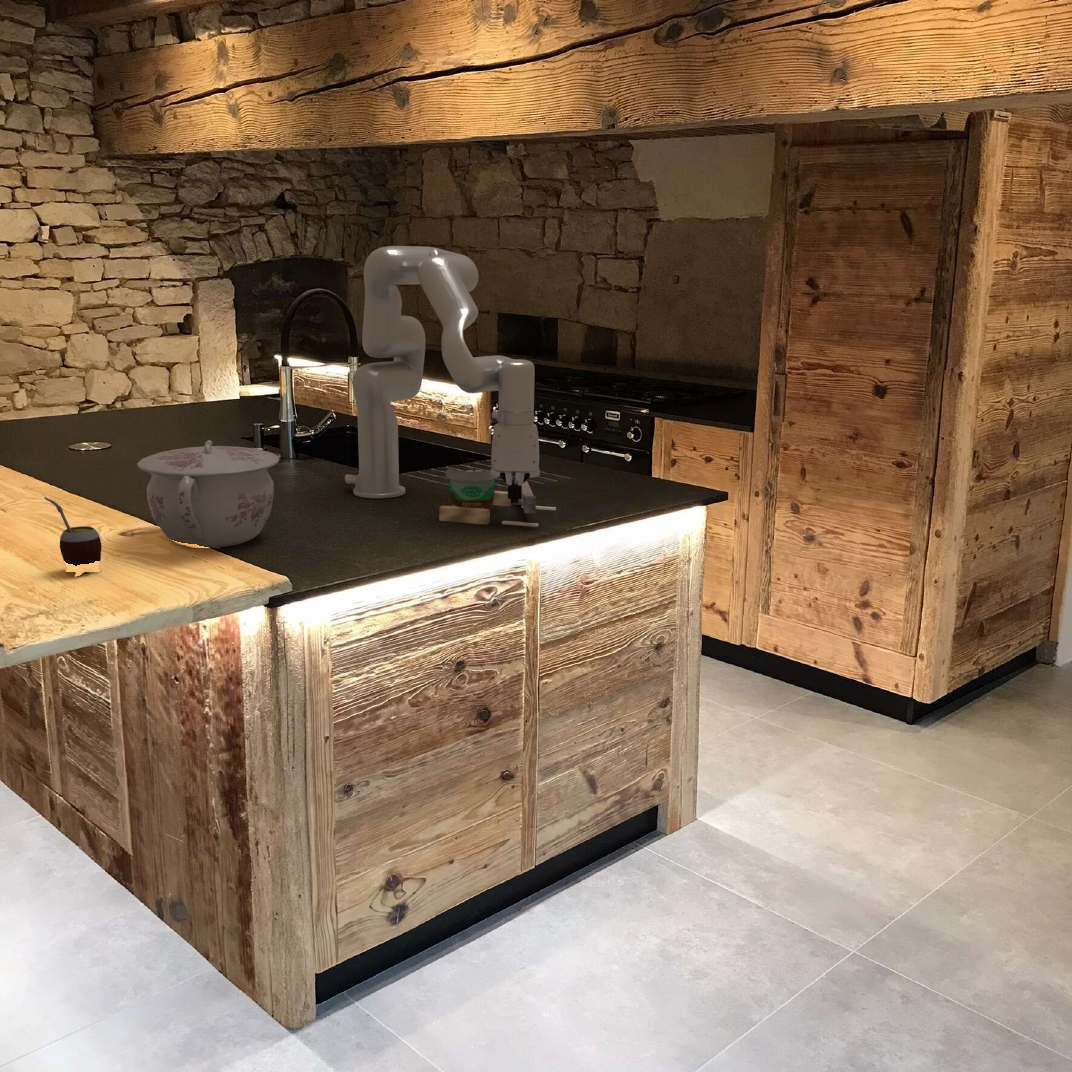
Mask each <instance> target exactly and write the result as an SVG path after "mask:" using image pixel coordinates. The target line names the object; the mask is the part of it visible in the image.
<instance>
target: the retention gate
mask: <svg viewBox="0 0 1072 1072" xmlns="http://www.w3.org/2000/svg"><path fill="white" fill-rule="evenodd" d="M518 476H519V473H518V472H515V482H514V484H516V481H517V480H518ZM514 504H515V505H516V506H522V505H523V507H524V508H523V513H524V514H536V513H537V509H536V506H537V497H536V495H534V493H533V491H532V489H531V487H530V485H529V482H528V480H527V481H525V482H524V483H523V485H522V499H519V501H518V504H516V503H515V502H514Z"/></svg>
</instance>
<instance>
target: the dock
mask: <svg viewBox="0 0 1072 1072" xmlns="http://www.w3.org/2000/svg"><path fill="white" fill-rule="evenodd" d="M512 505H513V504H511V499H508V491H500V490H494V499H493V506H499V507H511V506H512ZM438 509H439V510H438V511H439V513H438V515H439V516H438V517H439V521H440V522H451V523H461V524H462V523H463V524H474V525H484V526H485V525H486V526H487V525H488V524H490V522H491V521H490V520H491V519H490V518H491V517H490V514H491V512H490V509H480V508H467V507H454V506H452V505H451V506H450V505H441V506H439V508H438Z"/></svg>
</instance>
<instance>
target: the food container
mask: <svg viewBox="0 0 1072 1072" xmlns="http://www.w3.org/2000/svg"><path fill="white" fill-rule="evenodd" d="M490 472H491V469H485V470H483V469H478V468H477V469H476V468H475V469H474V468H473V469H472V468H470V469H466V470H455V469H451V468H450V467H447V470H446V472H445V473H446V474H445V478H447V479H448V484H449V485H448V486H449V494H450V501H451V506H454V507H467V508H480V509H490V513H491V512H492V511H493V509H494V508H493V507H494V505H493V499H494V491H496V490H495V488H496V479H497V478H499V477H498V476H494V475H491V474H490Z"/></svg>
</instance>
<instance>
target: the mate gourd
mask: <svg viewBox="0 0 1072 1072" xmlns="http://www.w3.org/2000/svg"><path fill="white" fill-rule="evenodd" d="M43 499H44V500H46V501H47V502H49V503H50V504H52V505H54V507H55V508H56V510H57V511H58V513H59V514H60V517H61V518H62V520H63V523H64V524H65V528H66V529H65V530H63V531H62V533H61V535H60V538H59V539H60V540H59V549H60V554H61V557H62V559H63V562H64V561H65V562H66V563H68V564H73V565H75V566H77V565H80V564H89V563H94V562H95V561H100V562H101V558H102V542H101V541H102V540H101V538H100V533H99V532H98V530H97V529H96V528H95V527H92V526H85V525H84V526H83V525H82V526H73V527H70V525H69V523H68V520H67V518H66V516H65V513H64V510H63V508H62V507H61V505H60V504H58V503H57V502H56V501H54V500H52V499H50V498H48V497H46V496H44V498H43Z"/></svg>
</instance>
